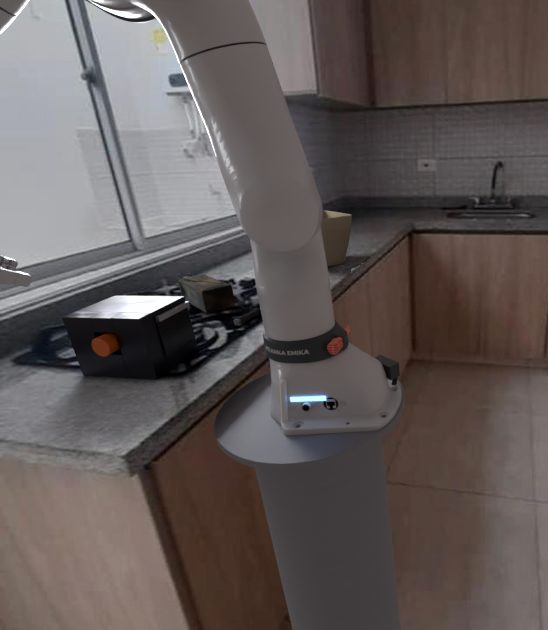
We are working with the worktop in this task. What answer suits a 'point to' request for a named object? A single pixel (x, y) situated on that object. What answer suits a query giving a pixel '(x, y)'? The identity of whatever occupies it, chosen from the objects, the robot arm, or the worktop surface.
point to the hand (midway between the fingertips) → (22, 273)
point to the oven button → (105, 344)
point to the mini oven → (133, 335)
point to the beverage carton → (207, 293)
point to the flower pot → (335, 236)
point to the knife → (247, 316)
